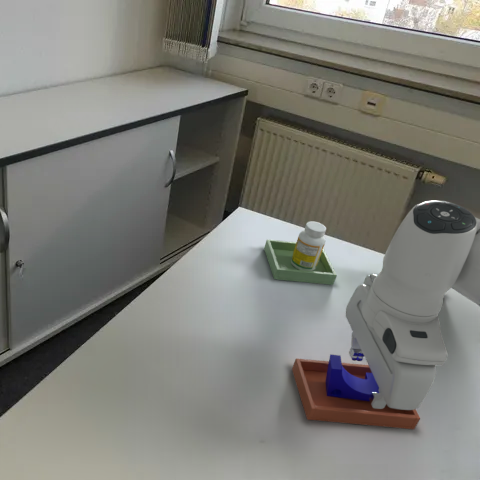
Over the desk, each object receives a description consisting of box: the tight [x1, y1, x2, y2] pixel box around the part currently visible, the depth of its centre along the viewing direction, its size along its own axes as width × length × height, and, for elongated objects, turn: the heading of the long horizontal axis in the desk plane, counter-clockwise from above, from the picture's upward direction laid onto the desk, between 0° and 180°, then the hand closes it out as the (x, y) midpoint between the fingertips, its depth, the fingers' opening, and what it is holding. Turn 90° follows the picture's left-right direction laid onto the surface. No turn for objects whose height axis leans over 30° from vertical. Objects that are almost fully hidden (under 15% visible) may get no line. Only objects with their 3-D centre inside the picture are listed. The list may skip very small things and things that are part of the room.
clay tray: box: [291, 358, 421, 430], centre depth 84 cm, size 16×10×2 cm, turn 88°
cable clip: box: [326, 354, 379, 401], centre depth 83 cm, size 12×4×6 cm, turn 76°
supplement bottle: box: [291, 220, 327, 271], centre depth 112 cm, size 5×5×10 cm
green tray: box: [263, 239, 338, 286], centre depth 114 cm, size 12×11×2 cm
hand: (364, 380), depth 83 cm, fingers open, 8 cm apart
